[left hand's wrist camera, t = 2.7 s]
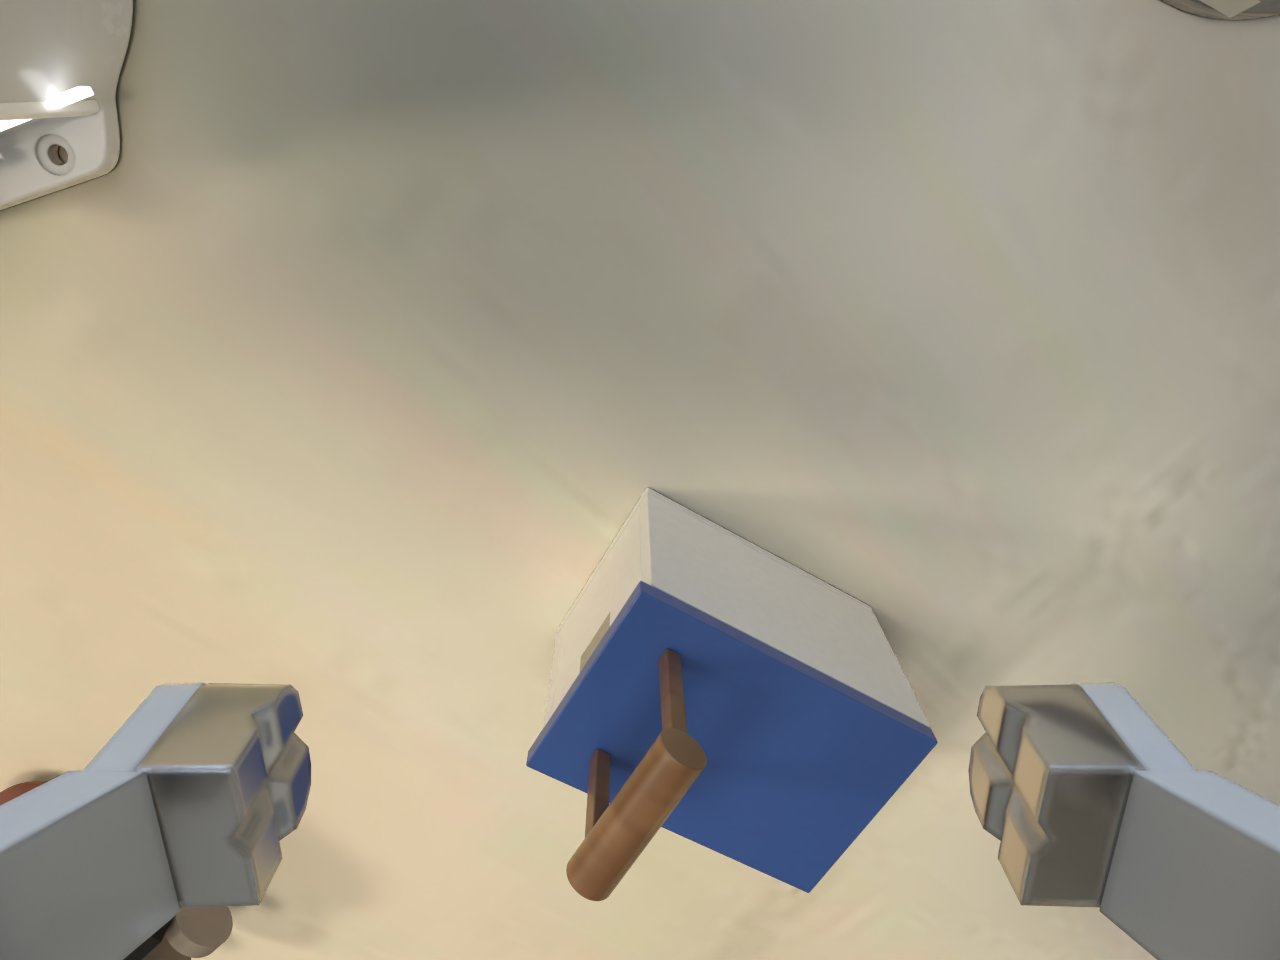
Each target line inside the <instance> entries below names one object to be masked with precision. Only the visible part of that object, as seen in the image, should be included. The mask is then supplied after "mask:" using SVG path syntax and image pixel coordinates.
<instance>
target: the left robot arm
mask: <svg viewBox="0 0 1280 960" xmlns="http://www.w3.org/2000/svg"><path fill="white" fill-rule="evenodd" d="M132 16H133V0H0V210H3V209H6V208H9V207H12V206H15V205H18V204H21V203H23V202H26V201H29V200H32V199H35V198H38V197H41V196H44V195H47V194H50V193H53V192H56V191H59V190H62V189H65V188H68V187H71V186H74V185H76V184H79V183H82V182H85V181H88V180H91V179H94V178H97V177H100V176H103V175H105V174H107V173H109V172H110V171H111V170H113V168H114V167H115V166H116V164H117V162H118V159H119V153H120V134H119V124H118V115H117V107H116V100H115V96H116V88H117V83H118V79H119V75H120V71H121V68H122V65H123V62H124V58H125V55H126V52H127V48H128V44H129V39H130V33H131V27H132ZM59 146H62V147H63V148H64V149H65V150H66V152H67V155H68V160H67V162H66V163H65V164H64V163H63V162H62V161H61V160H60V159H59V157H58V155H57V149H58V147H59ZM302 716H303V713H302V708H301V703H300V698H299V693H298V691H297V690H296V689H295V688H294V687H293V686H291V685H273V684H226V683H209V684H205V683H166V684H163V685H160V686H157V687H156V688H155V689H154V690H153V691H152V692H151V693H150V694H149V695H148V697H147V698H146V699H145V700H144V701H143V702H142V704H141V705H140V706H139V707H138V708H137V709H136V710H135V712H134V713H133V714H132V715H131V716H130V717H129V718H128V720H127V721H126V722H125V723H124V724H123V725H122V726H121V728H120V729H119V730H118V731H117V732H116V733H115V734H114V736H113V737H112V738H111V739H110V740H109V741H108V743H107V744H106V745H105V746H104V747H103V748H102V749H101V751H100V752H99V753H98V754H97V755H96V756H95V757H94V759H93V760H92V761H91V762H90V763H89V764H88V765H87V767H86V768H85V769H84V770H83V771H68V772H66V773H64V774H62V775H60V776H58V777H56V778H54V779H52V780H50V781H48V782H46V783H44V784H42V785H40V786H38V787H36V788H34V789H32V790H30V791H28V792H26V793H24V794H22V795H20V796H18V797H16V798H14V799H12V800H10V801H8V802H7V803H5V804H3V805H1V806H0V960H123V959H124V958H126V957H127V956H128V955H129V954H130V953H132V952H133V951H134V950H135V949H136V948H137V947H139V946H140V945H141V944H142V943H143V942H145V941H146V940H147V939H148V938H149V937H151V936H152V935H153V934H154V933H155V932H156V931H158V930H159V929H160V928H161V927H162V926H164V925H165V924H166V923H167V922H168V921H170V920H171V919H172V918H173V917H174V916H175V915H177V914H178V913H179V912H180V907H206V906H240V905H259V904H260V902H261V900H262V898H263V896H264V894H265V892H266V890H267V888H268V886H269V884H270V882H271V880H272V878H273V876H274V874H275V872H276V870H277V868H278V866H279V864H280V862H281V860H282V854H281V849H280V843H279V841H280V840H281V839H282V838H284V837H285V836H287V835H288V834H289V833H291V832H292V831H294V830H295V829H297V827H298V824H299V822H300V820H301V818H302V816H303V814H304V811H305V809H306V805H307V800H308V795H309V790H310V786H311V761H310V755H309V748H308V746H307V745H306V744H305V743H304V742H303V741H302V740H301V739H300V738H299V737H298V736H297V735H296V734H295V733H294V731H295V729H296V727H297V725H298V724H299V722H300V720H301V718H302ZM977 716H978V718H979V720H980V722H981V724H982V725H983V727H984V729H985V731H986V733H985V734H984V735H983V736H982V737H981V738H980V739H979V740H978V741H977V742H976V743H975V744H974V745H973V746H972V748H971V756H970V764H969V781H970V793H971V797H972V801H973V804H974V808H975V812H976V814H977V816H978V818H979V820H980V822H981V825H982V827H983V829H985V830H986V831H988V832H989V833H991V834H992V835H993V836H995V837H996V838H998V839H999V840H1000V841H1001V843H1000V849H999V854H998V860H999V862H1000V864H1001V866H1002V868H1003V870H1004V872H1005V874H1006V876H1007V878H1008V880H1009V882H1010V884H1011V886H1012V888H1013V890H1014V892H1015V894H1016V896H1017V898H1018V900H1019V902H1020V904H1021V905H1038V906H1073V907H1100V912H1101V913H1103V914H1104V915H1105V916H1106V917H1107V918H1109V919H1110V920H1111V921H1112V922H1113V923H1114V924H1116V925H1117V926H1118V927H1119V928H1120V929H1122V930H1123V931H1124V932H1125V933H1126V934H1127V935H1129V936H1130V937H1131V938H1132V939H1133V940H1135V941H1136V942H1137V943H1138V944H1139V945H1141V946H1142V947H1143V948H1144V949H1145V950H1146V951H1148V952H1149V953H1150V954H1151V955H1152V956H1154V957H1155V958H1156V959H1157V960H1280V806H1279V805H1277V804H1275V803H1273V802H1271V801H1269V800H1267V799H1265V798H1263V797H1261V796H1259V795H1257V794H1256V793H1254V792H1252V791H1250V790H1248V789H1246V788H1244V787H1242V786H1240V785H1238V784H1236V783H1234V782H1232V781H1230V780H1228V779H1226V778H1224V777H1222V776H1220V775H1218V774H1216V773H1214V772H1212V771H1197V770H1196V769H1195V768H1194V767H1193V765H1192V764H1191V763H1190V762H1189V761H1188V760H1187V759H1186V757H1185V756H1184V755H1183V754H1182V753H1181V752H1180V751H1179V749H1178V748H1177V747H1176V746H1175V745H1174V744H1173V743H1172V741H1171V740H1170V739H1169V738H1168V737H1167V736H1166V735H1165V733H1164V732H1163V731H1162V730H1161V729H1160V728H1159V726H1158V725H1157V724H1156V723H1155V722H1154V721H1153V720H1152V718H1151V717H1150V716H1149V715H1148V714H1147V713H1146V712H1145V710H1144V709H1143V708H1142V707H1141V706H1140V705H1139V704H1138V702H1137V701H1136V700H1135V699H1134V698H1133V697H1132V696H1131V694H1130V693H1129V692H1128V691H1127V690H1126V689H1125V688H1124V687H1123V686H1120V685H1118V684H1116V683H1114V682H1111V683H1080V684H1071V685H1018V686H986V687H985V689H984V691H983V693H982V695H981V697H980V701H979V707H978V712H977Z"/></svg>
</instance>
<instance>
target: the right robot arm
mask: <svg viewBox="0 0 1280 960" xmlns="http://www.w3.org/2000/svg"><path fill="white" fill-rule="evenodd" d="M1163 1H1164V2H1166V3H1168V4H1170V5H1172V6H1174V7H1176V8H1178V9H1180V10H1183V11H1186V12H1189V13H1192V14H1194V15H1199V16H1203V17H1208V18H1214V19H1224V20H1246V19H1254V18H1263V17H1269V16H1275V15H1280V0H1163Z"/></svg>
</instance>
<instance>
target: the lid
mask: <svg viewBox="0 0 1280 960" xmlns="http://www.w3.org/2000/svg"><path fill="white" fill-rule="evenodd" d="M936 744H937V740H936V738H935V736H934V734H933V732H932V730H931V728H929V727H927V726H925V725H923V724H921V723H919V722H917V721H915V720H913V719H911V718H909V717H907V716H905V715H903V714H901V713H899V712H897V711H895V710H894V709H892V708H890V707H888V706H886V705H884V704H882V703H880V702H878V701H876V700H874V699H872V698H870V697H868V696H866V695H864V694H862V693H860V692H858V691H856V690H854V689H852V688H850V687H848V686H847V685H845V684H843V683H841V682H839V681H837V680H835V679H833V678H831V677H829V676H827V675H825V674H823V673H821V672H819V671H817V670H815V669H813V668H811V667H809V666H807V665H805V664H803V663H802V662H800V661H798V660H796V659H794V658H792V657H790V656H788V655H786V654H784V653H782V652H780V651H778V650H776V649H774V648H772V647H770V646H768V645H766V644H764V643H762V642H760V641H758V640H756V639H755V638H753V637H751V636H749V635H747V634H745V633H743V632H741V631H739V630H737V629H735V628H733V627H731V626H729V625H727V624H725V623H723V622H721V621H719V620H717V619H715V618H713V617H711V616H709V615H708V614H706V613H704V612H702V611H700V610H698V609H696V608H694V607H692V606H690V605H688V604H686V603H684V602H682V601H680V600H678V599H676V598H674V597H672V596H670V595H668V594H666V593H664V592H663V591H661V590H659V589H657V588H655V587H653V586H651V585H649V584H647V583H645V582H643V581H640V582H639V583H638V585H637V586H636V588H635V589H634V591H633V592H632V594H631V595H630V597H629V598H628V600H627V601H626V603H625V605H624V606H623V608H622V609H621V611H620V612H619V614H618V615H617V617H616V618H615V620H614V621H613V623H612V624H611V626H610V627H609V629H608V631H607V632H606V634H605V635H604V637H603V638H602V640H601V641H600V643H599V644H598V646H597V647H596V649H595V650H594V652H593V653H592V655H591V656H590V658H589V660H588V661H587V663H586V664H585V666H584V667H583V669H582V670H581V672H580V673H579V675H578V676H577V678H576V679H575V681H574V682H573V684H572V685H571V687H570V689H569V690H568V692H567V693H566V695H565V696H564V698H563V699H562V701H561V702H560V704H559V705H558V707H557V708H556V710H555V711H554V713H553V715H552V716H551V718H550V719H549V721H548V722H547V724H546V725H545V727H544V728H543V730H542V731H541V733H540V734H539V736H538V737H537V739H536V740H535V742H534V744H533V745H532V747H531V748H530V750H529V751H528V757H527V764H526V765H527V766H528V767H530V768H532V769H534V770H537V771H539V772H541V773H543V774H545V775H548V776H550V777H552V778H554V779H557V780H559V781H561V782H563V783H565V784H568V785H570V786H572V787H574V788H577V789H579V790H581V791H583V792H585V793H588V797H587V814H586V830H585V839H584V841H583V842H582V844H581V845H580V846H579V848H578V849H577V851H576V852H575V853H574V855H573V856H572V858H571V859H570V860H569V862H568V864H567V877H568V880H569V882H570V884H571V885H572V887H573V888H574V889H575V890H576V891H577V892H578V893H579V894H580V895H581V896H583V897H585V898H587V899H589V900H592V901H602V900H604V899H606V898H607V897H609V895H610V894H611V893H612V891H613V890H614V889H615V887H616V886H617V885H618V883H619V882H620V881H621V879H622V878H623V877H624V875H625V874H626V873H627V871H628V870H629V869H630V867H631V866H632V865H633V863H634V862H635V861H636V859H637V858H638V857H639V855H640V854H641V853H642V851H643V850H644V849H645V847H646V846H647V845H648V843H649V842H650V841H651V839H652V838H653V837H654V835H655V834H656V833H657V831H658V830H659V829H660V827H663V828H665V829H668V830H670V831H672V832H674V833H676V834H679V835H681V836H683V837H685V838H687V839H690V840H692V841H694V842H696V843H699V844H701V845H703V846H705V847H707V848H710V849H712V850H714V851H716V852H719V853H721V854H723V855H725V856H727V857H730V858H732V859H734V860H736V861H739V862H741V863H743V864H745V865H747V866H750V867H752V868H754V869H756V870H759V871H761V872H763V873H765V874H767V875H770V876H772V877H774V878H776V879H778V880H781V881H783V882H785V883H787V884H790V885H792V886H794V887H796V888H798V889H801V890H803V891H805V892H807V893H809V892H810V891H811V890H812V889H813V888H814V887H815V886H816V884H817V883H818V882H819V881H820V880H821V878H822V877H823V876H824V875H825V874H826V873H827V871H828V870H829V869H830V868H831V867H832V866H833V864H834V863H835V862H836V861H837V860H838V859H839V857H840V856H841V855H842V854H843V853H844V852H845V850H846V849H847V848H848V847H849V846H850V845H851V843H852V842H853V841H854V840H855V839H856V838H857V836H858V835H859V834H860V833H861V832H862V831H863V829H864V828H865V827H866V826H867V825H868V824H869V822H870V821H871V820H872V819H873V818H874V817H875V815H876V814H877V813H878V812H879V811H880V810H881V808H882V807H883V806H884V805H885V804H886V803H887V801H888V800H889V799H890V798H891V797H892V796H893V794H894V793H895V792H896V791H897V790H898V788H899V787H900V786H901V785H902V784H903V783H904V781H905V780H906V779H907V778H908V777H909V776H910V774H911V773H912V772H913V771H914V770H915V769H916V767H917V766H918V765H919V764H920V763H921V762H922V760H923V759H924V758H925V757H926V756H927V755H928V753H929V752H930V751H931V750H932V749H933V748H934V746H935V745H936ZM609 803H610V804H609Z"/></svg>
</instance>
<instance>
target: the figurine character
mask: <svg viewBox="0 0 1280 960" xmlns="http://www.w3.org/2000/svg"><path fill="white" fill-rule="evenodd" d="M44 783H46V782H38V781H34V782H25V783H21V784H18V785H14V786H12V787H10V788H7V789H6V790H4V791H2V792H1V793H0V806H1V805H3V804H5V803H7V802H8V801H10V800H12V799H14V798H16V797H18V796H20V795H22V794H24V793H26V792H28V791H30V790H32V789H34V788H36V787H38V786H40V785H42V784H44ZM231 931H232V916H231V913H230V911H229V909H228V907H227V906H206V907H180V912H179V913H178V914H177V915H175V916H174V917H173V918H172V919H171V920H170V921H168V922H167V923H166V924H165V925H164V926H162V927H161V928H160V929H159V930H158V931H156V932H155V933H154V934H153V935H152V936H151V937H149V938H148V939H147V940H146V941H145V942H143V943H142V944H141V945H140V946H139V947H137V948H136V949H135V950H134V951H133V952H132V953H130V954H129V955H128V956H127V957H126V958H124V959H123V960H191V957H192V958H201V957H205V956H207V955H209V954H211V953H212V952H213V951H214V950H216V949H217V948H218V947H219V946H220V945H221V944H222V943H223V942H225V941H226V940H227V938H228V937H229V935H230V933H231Z"/></svg>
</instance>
